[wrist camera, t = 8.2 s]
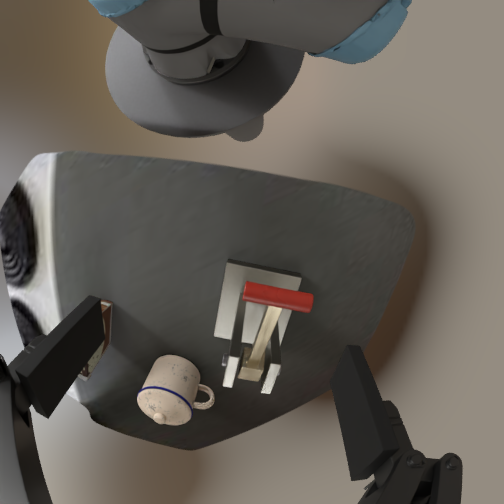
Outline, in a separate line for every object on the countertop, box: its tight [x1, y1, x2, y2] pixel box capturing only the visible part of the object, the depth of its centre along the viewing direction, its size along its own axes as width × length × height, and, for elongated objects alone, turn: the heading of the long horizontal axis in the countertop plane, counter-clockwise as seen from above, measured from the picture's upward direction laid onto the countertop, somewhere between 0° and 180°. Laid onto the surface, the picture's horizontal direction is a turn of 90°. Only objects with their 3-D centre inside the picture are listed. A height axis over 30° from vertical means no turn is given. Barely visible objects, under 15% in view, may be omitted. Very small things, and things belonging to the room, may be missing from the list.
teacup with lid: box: [137, 355, 215, 425], centre depth 39 cm, size 12×9×12 cm
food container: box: [78, 300, 113, 381], centre depth 37 cm, size 12×6×10 cm, turn 161°
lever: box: [238, 281, 313, 381], centre depth 24 cm, size 13×5×2 cm, turn 168°
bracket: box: [214, 259, 302, 394], centre depth 32 cm, size 12×10×15 cm
